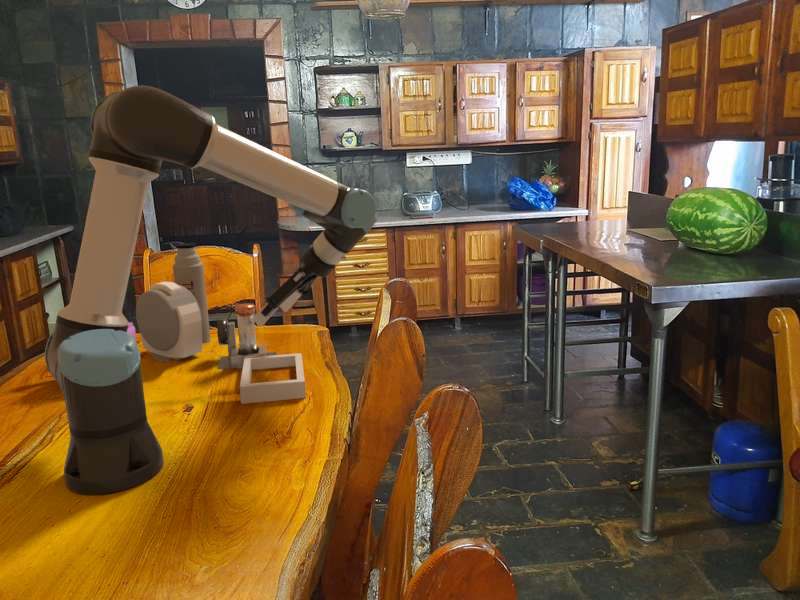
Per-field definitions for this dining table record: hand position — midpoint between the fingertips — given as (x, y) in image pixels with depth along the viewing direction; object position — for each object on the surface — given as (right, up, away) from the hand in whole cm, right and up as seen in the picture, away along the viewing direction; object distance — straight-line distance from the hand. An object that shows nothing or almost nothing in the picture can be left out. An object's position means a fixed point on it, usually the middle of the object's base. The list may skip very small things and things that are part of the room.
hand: (269, 315), depth 150 cm
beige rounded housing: (-28, -12, +12) cm, 32 cm away
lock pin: (-6, -12, +4) cm, 14 cm away
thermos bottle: (-26, -8, +26) cm, 38 cm away
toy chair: (-45, -11, +18) cm, 50 cm away
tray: (+3, -16, -8) cm, 18 cm away
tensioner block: (-7, -13, +6) cm, 15 cm away
